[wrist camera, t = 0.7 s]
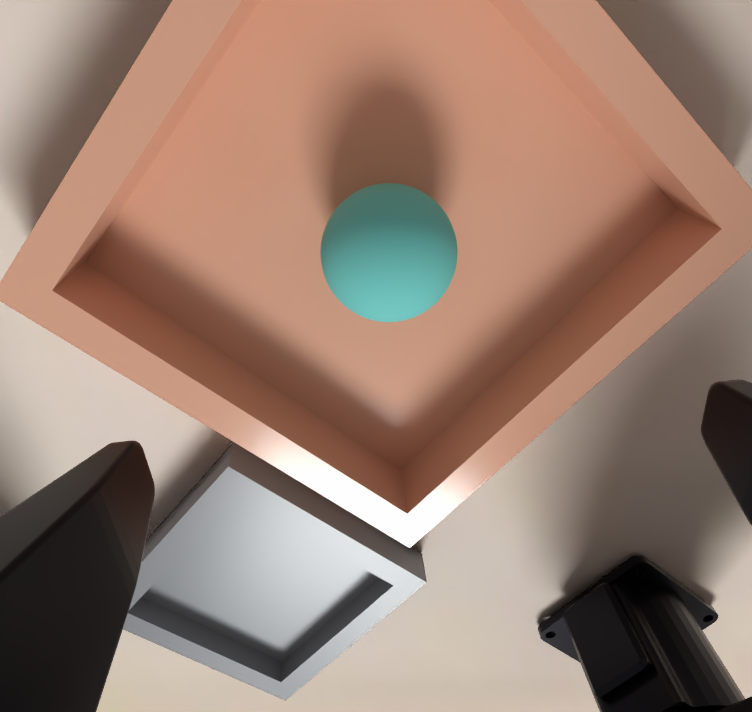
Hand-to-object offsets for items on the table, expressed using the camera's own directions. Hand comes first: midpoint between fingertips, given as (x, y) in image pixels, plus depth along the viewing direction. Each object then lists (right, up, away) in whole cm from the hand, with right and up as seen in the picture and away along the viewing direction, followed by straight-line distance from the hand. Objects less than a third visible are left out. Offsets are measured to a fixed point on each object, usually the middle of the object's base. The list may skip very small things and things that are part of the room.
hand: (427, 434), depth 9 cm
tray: (-6, -8, +17) cm, 20 cm away
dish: (-1, +5, +10) cm, 12 cm away
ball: (0, +4, +8) cm, 9 cm away
